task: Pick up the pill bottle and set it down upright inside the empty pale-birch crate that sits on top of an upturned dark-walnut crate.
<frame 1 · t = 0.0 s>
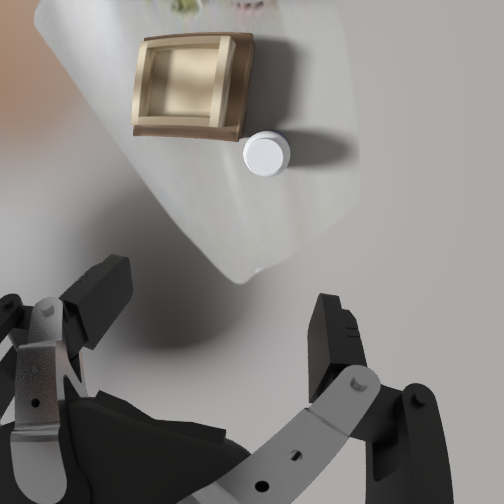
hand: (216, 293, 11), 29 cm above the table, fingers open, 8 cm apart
top crate: (186, 82, 28), resting on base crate
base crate: (199, 87, 32), on the table
pill bottle: (270, 148, 36), on the table
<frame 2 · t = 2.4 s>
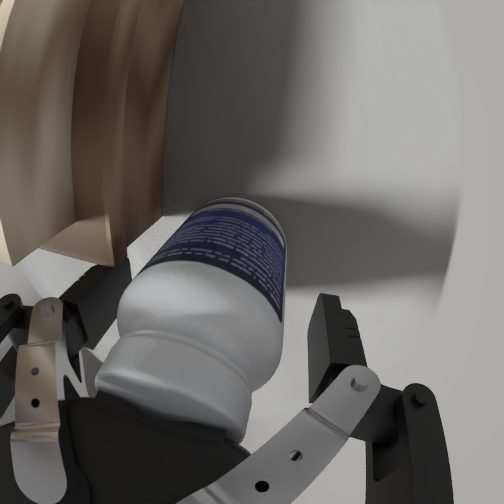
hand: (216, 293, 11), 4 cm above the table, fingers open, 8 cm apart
top crate: (2, 100, 6), resting on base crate
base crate: (67, 94, 11), on the table
pill bottle: (235, 244, 14), on the table
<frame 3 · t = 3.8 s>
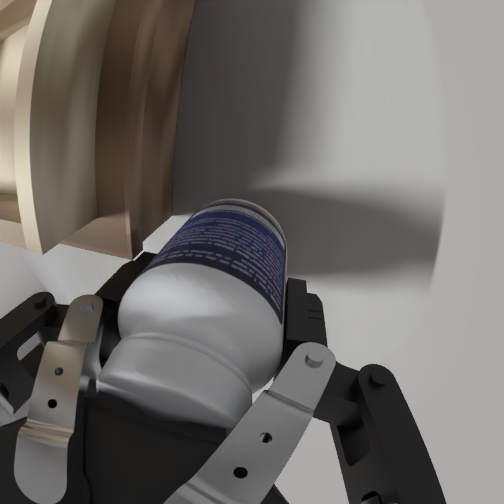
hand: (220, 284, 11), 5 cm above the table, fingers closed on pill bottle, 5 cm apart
top crate: (23, 105, 8), resting on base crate
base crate: (81, 101, 12), on the table
pill bottle: (235, 245, 14), point 1 cm above the table, touching gripper
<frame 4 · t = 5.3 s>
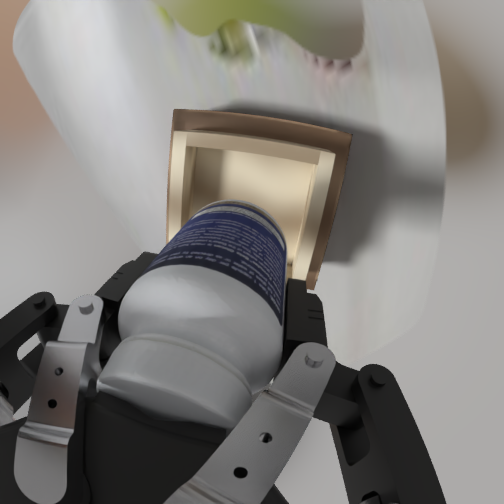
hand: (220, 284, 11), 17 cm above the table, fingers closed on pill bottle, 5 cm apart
top crate: (248, 202, 22), resting on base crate
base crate: (255, 189, 27), on the table
pill bottle: (235, 246, 14), point 14 cm above the table, touching gripper
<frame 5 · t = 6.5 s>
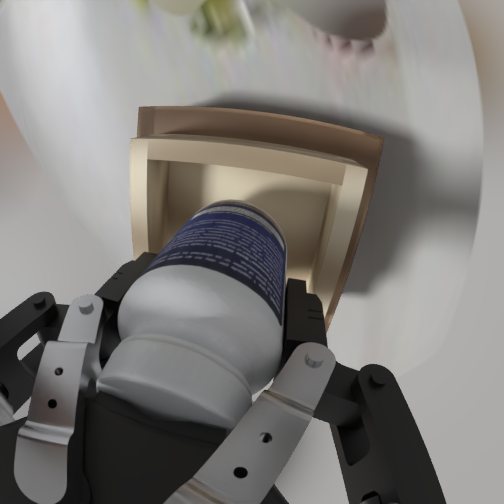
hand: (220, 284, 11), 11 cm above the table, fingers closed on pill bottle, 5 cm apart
top crate: (241, 231, 17), resting on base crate
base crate: (252, 206, 21), on the table
pill bottle: (235, 246, 14), point 8 cm above the table, touching gripper
when the fingers open (10 cm above the table, at t = 7.5 s): pill bottle drops 1 cm, resting on top crate.
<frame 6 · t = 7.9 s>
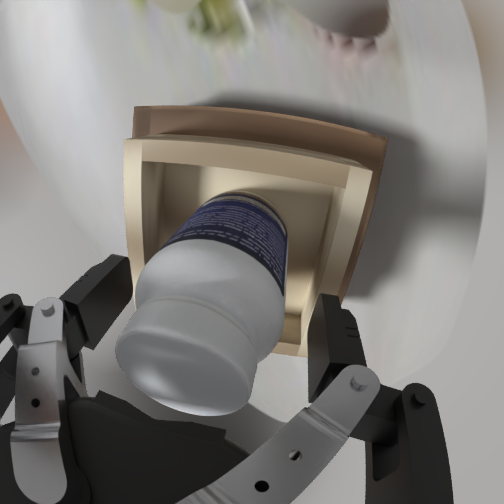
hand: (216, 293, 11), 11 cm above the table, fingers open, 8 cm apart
top crate: (240, 235, 16), resting on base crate
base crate: (251, 209, 20), on the table
pill bottle: (240, 234, 15), point 6 cm above the table, touching top crate
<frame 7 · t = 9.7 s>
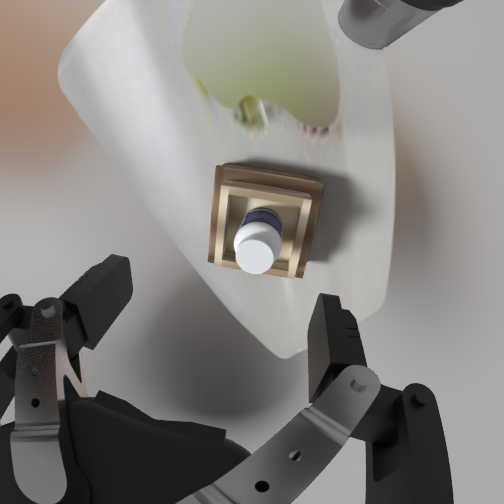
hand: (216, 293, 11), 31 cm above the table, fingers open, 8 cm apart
top crate: (262, 225, 37), resting on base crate
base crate: (264, 214, 42), on the table
pill bottle: (262, 224, 37), point 6 cm above the table, touching top crate
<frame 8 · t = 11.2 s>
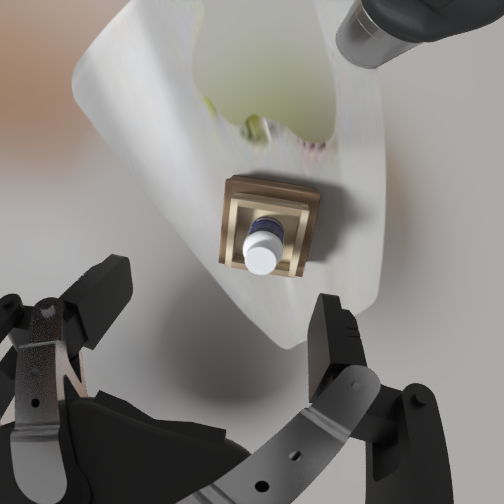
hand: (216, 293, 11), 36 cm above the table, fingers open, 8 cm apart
top crate: (266, 231, 43), resting on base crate
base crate: (268, 220, 47), on the table
pill bottle: (266, 230, 42), point 6 cm above the table, touching top crate
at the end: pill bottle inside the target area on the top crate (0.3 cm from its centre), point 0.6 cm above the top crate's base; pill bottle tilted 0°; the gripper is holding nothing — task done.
